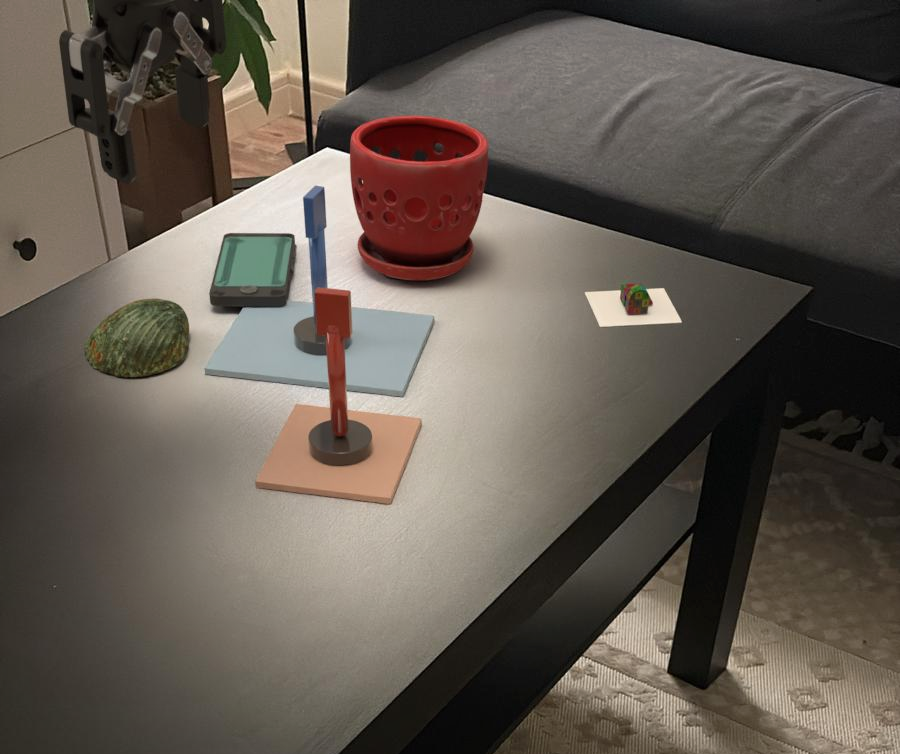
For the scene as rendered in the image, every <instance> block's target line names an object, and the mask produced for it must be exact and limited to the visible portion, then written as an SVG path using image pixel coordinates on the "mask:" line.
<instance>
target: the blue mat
mask: <svg viewBox="0 0 900 754" xmlns="http://www.w3.org/2000/svg"><path fill="white" fill-rule="evenodd" d="M351 311H352V335H351V340H352V341H351V344H350V346H349V347H348V348H347V349H345V365H346V385H347V391H348V392H349V391H350V392H357V393H358V392H359V393H366V394H367V393H368V394H376V395H385V396H393V397H400V398H401V397H404V395H405V392H406V390H407V388H408V386H409V383H410V381H411V378H412V376H413V373H414V371H415V368H416V366H417V364H418V361H419V359H420V356H421V354H422V352H423V349H424V347H425V345H426V343H427V340H428V337H429V335H430V333H431V331H432V328H433V326H434V323H435V315H432V314H422V313H412V312H404V311H394V310H393V311H392V310H385V309H375V308H368V307H367V308H365V307H358V306H357V307H356V306H351ZM313 316H314V314H313V302H310V301H300V300H290V299H287V303H286V305H284V306H242V309H241V310H240V312H239V314H238V315H237V316H236V318H235V320H234V321H233V323H232V325H230V327H229V329H228V330H227V332H226V334H225V335H224V337H223V338H222V340H221V341H220V343H219V344H218V346H217V348H216V349H215V351H214V352H213V354H212V356H211V357H210V359H209V361H207V363H206V365H205V366H204V369H203V370H204V374H205V375H209V376H218V377H226V378H235V379H244V380H245V379H246V380H252V381H263V382H271V383H279V384H287V385H298V386H305V387H316V388H323V389H324V388H325V389H329V383H328V367H327V355H312V354H308V353H305V352H303V351H301V350H299V349H298V348H297V347H296V345H295V343H294V331H293V330H294V327H295V325H296V324H297V323H298V322H299V321H301V320H303V319H305V318H308V317H313Z"/></svg>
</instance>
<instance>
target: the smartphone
mask: <svg viewBox="0 0 900 754" xmlns="http://www.w3.org/2000/svg"><path fill="white" fill-rule="evenodd" d="M295 236H296V235H295V234H293V233H290V232H281V233H280V232H229V233H225V234H223V237H222V241H221V245H220V248H219V253H218V257H217V262H216V265H215V269H214V272H213V273H214V274H213V278H212V281H211V285H210V288H209V293H208V295H209V303H210V305H211V306H213V307H244V306H284V305H286V303H287V300H288V295H289V289H290V283H291V276H292V273H293V271H294V264H295V258H296V252H297V244H296V239H295V238H296V237H295Z"/></svg>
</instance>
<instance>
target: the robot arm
mask: <svg viewBox="0 0 900 754" xmlns="http://www.w3.org/2000/svg"><path fill="white" fill-rule="evenodd" d="M92 3H93V5H92V6H93V10H92V12H93V13H92V18H91V19H92V20H91V27H89V28H87V29H85V30H83V31H82V32H79V33H75V32H73V31H72V30H68V29H64V30H62V32H61V33H60V36H59V39H58V44H59V52H60V53H59V54H60V61H61V68H62V77H63V83H64V91H65V99H66V107H67V114H68V122H69V124H70V125H71V126H73V127H74V128H77V129H79V130H83V131H85V132H87V133H89V134H91V135H93V136H95V137H96V138H97V139H96V140H97V144H98V151H99V158H100V166H101V168H102V170H103V172H104V173H106V174H107V175H108V176H109V177H110V178H112V179H114V180H116V181H118V182H121V183H123V184H125V185H129V184H131V183H132V182H133V181H135V180H136V178H137V170H136V162H135V155H134V148H133V147H134V146H133V140H132V139H133V138H132V132H131V130H130V129H128V128H129V124H130V121H131V117H132V114H133V110H134V106H135V103H137V102H140V101H141V100H142V99H143V97H144V94H145V91H146V87H147V82H148V79H149V78H151V77H152V76H153V75H154V74H155V73H156V72H157V71H158V70H159V68H160V67H161V66H166V65H169V64H171V63H172V62H175V63H177V64H179V65H178V66H177V67H175V68H174V76H175V87H176V98H177V108H178V115H179V118H180V119H181V121H182V122H184V123H186V124H189V125H191V126H193V127H195V128H198V129H203V128H204V127H205V126H207V125H208V124H209V122H210V106H211V103H210V92H209V90H210V89H209V76H208V74H210V72H211V71H212V68H213V60H212V59H213V57H214V56H215V55H216V54H217V55H223V54H224V52H225V51H226V49H227V34H226V24H225V23H226V22H225V13H224V3H223V0H92ZM203 19H205V20H206V21H207V23H208V28H206V27H204V21H203ZM113 64H115V66H116V67H117V68H118V69H120V70H121V71H123V72H125V73H128V74H129V77H128V79H127V80H125V81H123V80H120V79H118V78H115V77H114V76H113V74H112V66H113ZM113 92H116V93H117V99H116V100H117V101H116V105H115V107H114V111H113V110H111V109H109V101H110V98H111V94H112V93H113ZM86 101H87V102H88V104H89V107H86Z"/></svg>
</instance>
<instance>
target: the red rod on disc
mask: <svg viewBox="0 0 900 754" xmlns="http://www.w3.org/2000/svg"><path fill="white" fill-rule="evenodd" d="M314 296H315V311H316V326H317V335H323V336H326V350H327V367H328V383H329V388H328V397H329V398H328V399H329V400H328V401H329V408H330V417H331V420H328V421H325V422H322V423H320V424H318V425H316V426H315V427H313V428H312V430H311V431H310V433H309V435H308V441H309V451H310V454H311V455H312V457H313V458H315V459H316V460H317V461H319V462H321V463H324V464H328V465H333V466H346V465H352V464H356V463H359V462H361V461H363V460H365V459H366V458H367V457H368V456H369V455H370V454H371V452H372V449H373V439H372V432H371V430H370V429H369V428H368V427H367V426H366V425H364V424H362V423H360V422H358V421H354V420H349V419H348V410H349V408H348V390H347V385H346V365H345V344H344V338H350V337H351V335H352V311H351V307H352V292H351V290H349V289H339V288H330V287H328V288H321V287H317V289H316V290H315V292H314Z"/></svg>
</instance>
